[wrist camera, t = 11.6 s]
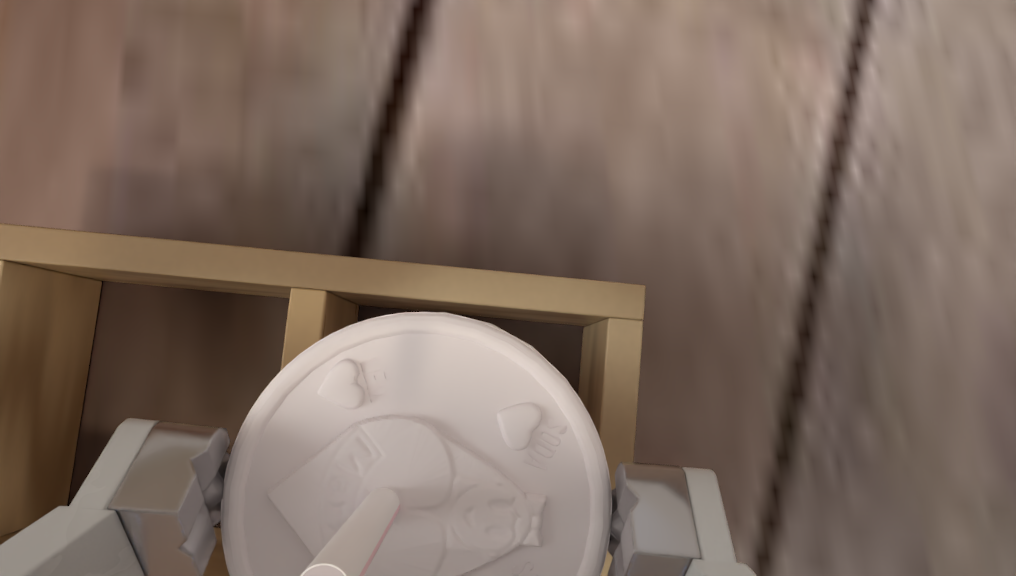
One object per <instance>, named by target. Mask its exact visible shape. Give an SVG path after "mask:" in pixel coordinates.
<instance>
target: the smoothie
mask: <svg viewBox="0 0 1016 576" xmlns="http://www.w3.org/2000/svg"><path fill="white" fill-rule="evenodd" d="M611 515H612V493H611V483H610V476H609V469H608V465H607V461H606V457H605V453H604V449H603V446H602V443H601V440H600V438H599V435H598V432H597V430H596V428H595V425H594V423H593V421H592V419H591V417H590V415H589V413H588V411H587V410H586V408H585V406H584V404H583V403H582V401H581V399H580V398H579V396H578V395H577V394H576V392H575V391H574V389H573V388H572V387H571V385H570V384H569V382H568V380H567V379H566V378H565V377H564V376H563V375H562V374H561V373H560V372H559V371H558V370H557V369H556V368H555V367H554V366H553V365H552V364H551V363H549V362H548V361H547V360H546V359H545V358H544V357H543V356H542V355H541V354H540V353H539V352H538V351H537V350H536V349H535V348H534V347H533V346H531V345H529V344H528V343H526V342H524V341H522V340H520V339H518V338H517V337H515V336H513V335H511V334H509V333H508V332H506V331H504V330H502V329H500V328H499V327H497V326H495V325H493V324H491V323H487V322H483V321H479V320H475V319H471V318H467V317H463V316H459V315H455V314H451V313H447V312H404V313H396V314H389V315H384V316H379V317H375V318H371V319H367V320H364V321H361V322H358V323H355V324H352V325H349V326H347V327H345V328H343V329H340V330H338V331H336V332H334V333H332V334H330V335H328V336H326V337H325V338H323V339H321V340H319V341H318V342H316V343H314V344H313V345H312V346H310V347H309V348H307V349H306V350H304V351H303V352H302V353H300V354H299V355H298V356H297V357H296V358H294V359H293V360H292V361H291V362H290V363H289V364H287V365H286V366H285V367H284V368H283V369H282V370H281V371H280V372H279V373H278V374H277V375H276V376H275V378H274V379H273V380H272V381H271V382H270V383H269V384H268V386H267V387H266V388H265V390H264V391H263V392H262V393H261V395H260V396H259V397H258V399H257V400H256V402H255V404H254V405H253V407H252V408H251V410H250V411H249V413H248V415H247V417H246V419H245V421H244V422H243V424H242V426H241V428H240V430H239V433H238V435H237V438H236V440H235V443H234V445H233V447H232V451H231V454H230V457H229V461H228V464H227V468H226V473H225V478H224V488H223V499H222V500H221V534H222V544H223V550H224V555H225V560H226V565H227V569H228V572H229V575H230V576H601V573H602V570H603V567H604V563H605V559H606V555H607V551H608V546H609V540H610V529H611Z"/></svg>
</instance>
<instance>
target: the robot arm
mask: <svg viewBox="0 0 1016 576" xmlns="http://www.w3.org/2000/svg"><path fill="white" fill-rule="evenodd" d="M229 444H230V439H229V435H228V432H227V429H226V428H219V427H210V426H201V425H192V424H183V423H174V422H165V421H156V420H146V419H135V418H127V419H126V420H125V421H124V422H123V423H121V424H120V425H119V426H118V427H117V429H116V430H115V432H114V434H113V435H112V437H111V439H110V440H109V442H108V443H107V445H106V447H105V448H104V450H103V452H102V453H101V455H100V456H99V458H98V460H97V461H96V463H95V465H94V466H93V468H92V470H91V471H90V473H89V474H88V476H87V478H86V479H85V481H84V483H83V484H82V486H81V487H80V489H79V491H78V492H77V494H76V496H75V497H74V499H73V500H72V502H71V504H70V505H69V506H58V507H56V508H55V509H53V510H52V511H50V512H49V513H47V514H46V515H44V516H43V517H41V518H40V519H38V520H37V521H35V522H34V523H32V524H31V525H29V526H28V527H26V528H25V529H23V530H22V531H20V532H19V533H17V534H16V535H14V536H13V537H11V538H10V539H8V540H7V541H5V542H4V543H2V544H1V545H0V576H203V575H204V572H205V570H206V567H207V565H208V563H209V560H210V558H211V555H212V553H213V550H214V548H215V545H216V543H217V539H216V535H215V532H214V529H213V527H214V526H215V525H217V524H218V523H219V522H220V521H221V500H222V499H223V488H224V478H225V473H226V468H227V464H228V461H229V457H230V455H229V454H228V453H227V452H226V451H227V448H228V446H229ZM615 485H616V488H614V489H613V490H611V493H612V515H611V529H610V540H609V546H608V552H609V553H610V554H611V556H612V557H613V559H612V562H611V565H610V568H609V571H608V576H757V575H756V574H755V573H754V572H753V570H752V569H751V568H750V567H749V566H748V565H747V564H745V563H737V559H736V555H735V551H734V547H733V542H732V538H731V534H730V530H729V526H728V522H727V518H726V513H725V509H724V505H723V501H722V497H721V493H720V489H719V484H718V480H717V476H716V474H715V473H714V472H713V470H711V469H701V468H688V467H679V466H674V465H660V464H646V463H633V462H620V463H619V464H618V466H617V469H616V472H615Z"/></svg>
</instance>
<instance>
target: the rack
mask: <svg viewBox="0 0 1016 576" xmlns="http://www.w3.org/2000/svg"><path fill="white" fill-rule="evenodd" d="M102 281H111V282H121V283H132V284H142V285H153V286H164V287H174V288H185V289H195V290H206V291H217V292H227V293H238V294H248V295H259V296H270V297H280V298H290V299H289V307H288V315H287V323H286V330H285V338H284V346H283V354H282V362H281V370H282V369H283V368H284V367H285V366H286V365H287V364H289V363H290V362H291V361H292V360H293V359H294V358H296V357H297V356H298V355H299V354H300V353H302V352H303V351H304V350H306V349H307V348H309V347H310V346H312V345H313V344H314V343H316V342H318V341H319V340H321V339H323V338H325V337H326V336H328V335H330V334H332V333H334V332H336V331H338V330H340V329H343V328H345V327H347V326H349V325H352V324H355V323H357V320H358V311H359V305H365V306H375V307H386V308H397V309H407V310H418V311H428V312H447V313H451V314H460V315H471V316H481V317H492V318H502V319H513V320H524V321H534V322H545V323H555V324H566V325H577V326H585V327H584V329H583V341H582V354H581V366H580V378H579V391H578V396H579V398H580V399H581V401H582V403H583V404H584V406H585V408H586V410H587V411H588V413H589V415H590V417H591V419H592V421H593V423H594V425H595V428H596V430H597V432H598V435H599V438H600V440H601V443H602V446H603V449H604V453H605V457H606V461H607V465H608V469H609V476H610V483H611V490H613V489H614V488H616V485H615V472H616V469H617V466H618V464H619V463H620V462H633V460H634V446H635V432H636V418H637V404H638V390H639V376H640V362H641V348H642V334H643V321H641V320H643V319H644V307H645V293H646V286H645V285H640V284H629V283H619V282H608V281H598V280H587V279H577V278H567V277H556V276H546V275H535V274H525V273H514V272H504V271H494V270H483V269H473V268H462V267H452V266H441V265H431V264H421V263H410V262H400V261H389V260H379V259H368V258H358V257H348V256H337V255H327V254H316V253H306V252H295V251H285V250H275V249H264V248H254V247H243V246H233V245H222V244H212V243H201V242H191V241H181V240H170V239H160V238H149V237H139V236H128V235H118V234H108V233H97V232H87V231H76V230H66V229H55V228H45V227H35V226H24V225H14V224H3V223H0V545H1V544H2V543H4V542H5V541H7V540H8V539H10V538H11V537H13V536H14V535H16V534H17V533H19V532H20V531H22V530H23V529H25V528H26V527H28V526H29V525H31V524H32V523H34V522H35V521H37V520H38V519H40V518H41V517H43V516H44V515H46V514H47V513H49V512H50V511H52V510H53V509H55V508H56V507H58V506H67V504H68V497H69V491H70V484H71V478H72V472H73V465H74V459H75V452H76V446H77V440H78V433H79V427H80V420H81V414H82V408H83V401H84V395H85V388H86V382H87V376H88V369H89V363H90V357H91V350H92V344H93V337H94V331H95V325H96V318H97V312H98V305H99V299H100V293H101V286H102ZM281 370H280V371H281ZM213 529H214V532H215V535H216V539H217V543H216V545H215V548H214V550H213V553H212V555H211V558H210V560H209V563H208V565H207V567H206V570H205V572H204V575H203V576H230V575H229V572H228V569H227V565H226V560H225V555H224V550H223V544H222V534H221V528H216V527H213ZM612 559H613V557H612V556H611V554H610V553H609V552H608V551H607V555H606V559H605V563H604V567H603V570H602V573H601V576H608V571H609V568H610V565H611V562H612Z"/></svg>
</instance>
